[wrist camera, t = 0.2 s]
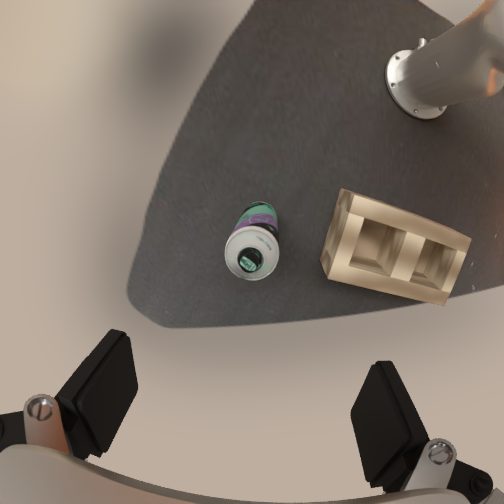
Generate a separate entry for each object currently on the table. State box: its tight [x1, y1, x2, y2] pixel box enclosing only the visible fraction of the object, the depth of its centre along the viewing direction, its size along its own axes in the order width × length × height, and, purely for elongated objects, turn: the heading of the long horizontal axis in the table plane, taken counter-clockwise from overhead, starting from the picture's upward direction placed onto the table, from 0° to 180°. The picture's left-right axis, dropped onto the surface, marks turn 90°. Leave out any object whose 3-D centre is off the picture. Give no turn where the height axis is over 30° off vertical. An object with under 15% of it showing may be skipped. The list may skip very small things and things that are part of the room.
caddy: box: [319, 188, 471, 306], centre depth 40 cm, size 12×22×8 cm, turn 77°
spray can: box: [225, 202, 279, 281], centre depth 35 cm, size 6×6×20 cm
